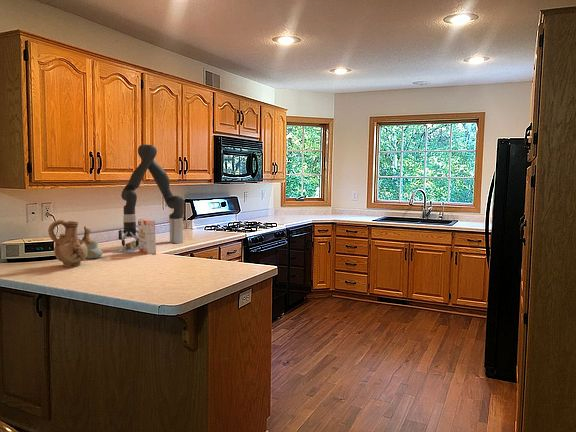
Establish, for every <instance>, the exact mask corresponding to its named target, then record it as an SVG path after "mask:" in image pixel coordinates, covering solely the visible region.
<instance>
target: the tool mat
mask: <svg viewBox="0 0 576 432" xmlns="http://www.w3.org/2000/svg"><path fill="white" fill-rule="evenodd" d="M121 249H126V246H123V248H120V249H118V250H121ZM118 250H116V251H112V252H111V254H133V253H134V252H137V251H139V245H138V246H137V247H135V248H133V249H132V251H129V252H118Z"/></svg>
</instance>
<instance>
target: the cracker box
mask: <svg viewBox="0 0 576 432" xmlns="http://www.w3.org/2000/svg"><path fill="white" fill-rule="evenodd" d="M155 221H156V220H153V219H150V218H138V219H137V228H138V233H137V236H138V235H139V245H138V246H139V250H138V251H139V252H140V253H142V254H145V255H157V246H156V245H157V244H156V222H155Z"/></svg>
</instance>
